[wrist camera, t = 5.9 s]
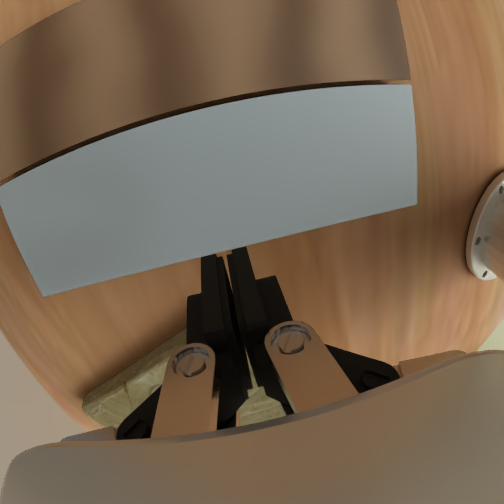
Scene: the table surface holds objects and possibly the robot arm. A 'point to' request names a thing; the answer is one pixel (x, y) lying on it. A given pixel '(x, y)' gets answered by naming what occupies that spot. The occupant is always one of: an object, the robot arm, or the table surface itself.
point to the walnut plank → (178, 61)
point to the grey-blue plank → (214, 182)
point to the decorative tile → (150, 379)
